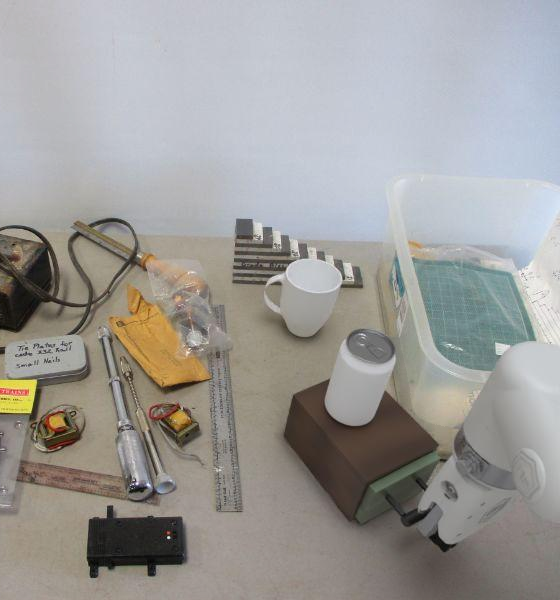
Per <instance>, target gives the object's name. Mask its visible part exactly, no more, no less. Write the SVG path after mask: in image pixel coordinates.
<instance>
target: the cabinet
mask: <svg viewBox="0 0 560 600" xmlns="http://www.w3.org/2000/svg"><path fill="white" fill-rule="evenodd" d="M330 379H331V377H330V378H328V379H325V380H323V381H321V382H318V383H316V384H314V385H311V386H309V387H307V388H305V389H303V390H300V391H298V392H295V393H293V394H292V396H291V401H290V404H289V408H288V409H289V410H288V412H287V413H288V414H287V418H286V422H285V425H284V426H285V427H284V429H283V435H282V436H283V438H284V439H285V441H286V442H287V443H288V445H290V447H291V449H292V450H293V451H294V452H295V454H296V455H297V456H298V457H299V458H300V460H301V462H303V464H304V465H305V467H306V468H307V469H308V470H309V472H310V473H311V474H312V475H313V477H314V478H315V479H316V480H317V482H318V483H319V484H320V485H321V487H322V488H323V489H324V492H326V493H327V495H328V496H329V497H330V499H331V500H332V501H333V502H334V504H335V505H336V507H337V508H338V509H339V510H340V511H341V513H342V514H343V515H344V517H345V518H346V519H347V520H348V522H352V521H354V520H355V519H356V517H355V515H356V513H357V511H358V508H359V506H360V504H361V502H362V499H363V497H364V495H365V493H366V491H367V488H368V486H369V484H370V483H371V482H373V481H375V480H377V479H379V478H381V477H383V476H385V475H387V474H389V473H390V472H392V471H394V470H396V469H398V468H400V467H402V466H404V465H406V464H408V463H410V462H412V461H415V460H417V459H419V458H421V457H423V456H425V455H427V454H428V453H430V452H432V451H435V452H436V451H437V450H438V448H439V446H440V444H439V442H438V441H437V440H436V439H435V438H434V437H433V436H432V435H430V433H429V432H428V431H427V430H426V429H425V428H424V427H423V426H422V425H421V424H420V423H418V421H417V420H416V419H415V418H414V417H413V416H412V415H411V414H410V413H409V412H408V411H407V410H406V409H405V408H404V407H403V406H401V404H400V403H399V402H398V401H397V400H396V399H395V398H394V397H393V396H392V395H391V393H389V392H388V391H387V390H386V389H385V391H384V393H383V396H382V398H381V401H380V403H379V406H378V408H377V410H376V413H375V415H374V417H373V419H372V420H371V421H370V422H368V423H367V424H364V425H361V426H349V425H345V424H342V423H340V422H338V421H337V420H335V419H334V418H333V417H332V416H331V415H330V414H329V413H328V411H327V409H326V407H325V396H326V393H327V389H328V386H329V382H330Z"/></svg>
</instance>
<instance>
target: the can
mask: <svg viewBox="0 0 560 600" xmlns="http://www.w3.org/2000/svg"><path fill="white" fill-rule="evenodd" d="M396 351H397V349H396V345H395V343H394V341H393V340H392V338H391V337H389V336H388V335H387V334H385V333H384V332H382V331H380V330H378V329H374V328H370V327H361V328H356V329H354V330H352V331H350V333H348V335H347V336H346V338H345V339H344V340H343V341H342V342H341V344H340V347H339V350H338V353H337V356H336V359H335V362H334V365H333V369H332V373H331V376H330V378H331V379H330V378H329V379H330V382H329V386H328V389H327V393H326V396H325V407H326V409H327V411H328V413H329V414H330V415H331V416H332V417H333V418H334V419H335V420H337V421H338V422H340V423H342V424H345V425H349V426H361V425H364V424H367V423H368V422H370V421H371V420H372V419H373V417H374V415H375V413H376V410H377V408H378V406H379V403H380V401H381V398H382V396H383V393H384V391H385V390H386V389H387V386H388V383H389V381H390V378H391V375H392V373H393V370H394V368H395V365H396Z"/></svg>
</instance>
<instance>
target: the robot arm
mask: <svg viewBox="0 0 560 600" xmlns="http://www.w3.org/2000/svg"><path fill="white" fill-rule="evenodd" d="M482 386H483V387H482V388H481V389H480V392H479V393H478V395H477V397H476V398H475V400H474V403H473V404H472V406H471V407H470V409H469V412H468V413H467V415H466V417H465V418H464V420H463V421H462V424H460V427H459V428H458V429H457V432H456V435H455V436H454V438H453V439H452V444H451V451H452V454H451V455H450V457H448V459H447V460H446V461H445V462H444V464H443V465H442V467H440V469H439V470H438V472H437V473H436V474H435V476H434V477H433V479H432V480H431V481H430V483H429V485H428V488H427V489H426V491H424V492H423V494H422V496H421V497H420V500H419V502H418V505H417V507H418V513H422V514H423V513H425V512H426V511H428V510H430V509H432V510H431V511H430V512H429V513H428V515H427V516H426V517H425V518H424V519H423V520H421V521H420V523H419V524H418V526H417V527H416V529H417V530H418V531H419V533H420V534H421V535H422V536H423V537H424V538H425V539H426V538H428V539H429V540H430V542H432V544H434V545H435V546H437V547H438V548H439V549H440V551H441V552H442V553H447V552H448V551H450V549H454V548H455V547H456V546H457V545H458V543H460V542H461V541H463V540H464V539H466V538H468V537H470V536H471V535H473V534H475V533H476V532H478V531H479V530H481V529H483V528H484V527H486V526H488V525H489V524H491V523H493V522H494V521H496V520H497V519H499V518H500V517H502V516H503V515H505V514H506V513H507V512H508V511H510V510H511V509H512V507H513V506H514V505H515V503H516V502H517V500H518V499H519V497H521V498H522V500H523V502H524V503H525V505H526V506H527V508H528V509H529V510H530V511H531V512H532V513H533V514H534V515H535V516H536V517H538V518H539V519H541V520H543V521H545V522H548V523H551V524H554V525H560V346H559V345H557V344H554V343H550V342H545V341H541V340H540V341H538V340H537V341H536V340H530V341H528V340H527V341H523V342H519V343H516V344H514V345H511V346H509V347H508V348H507V349H506V350H505V351H504V352H503V353H502V354H501V355H500V357H499V359H498V360H497V361H496V363H495V365H494V367H493V369H492V370H491V372H490V374H489V376H488V377H487V379H486V381H485V383H484V385H482Z"/></svg>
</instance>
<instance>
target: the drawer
mask: <svg viewBox="0 0 560 600" xmlns="http://www.w3.org/2000/svg"><path fill="white" fill-rule="evenodd" d="M440 460H441V456H440V455H438V453H437V452H436V451H432V452H430V453H428V454H427V455H425V456H423V457H421V458H419V459H417V460H415V461H412V462H410V463H408V464H406V465H404V466H402V467H400V468H398V469H396V470H394V471H392V472H390V473H389V474H387V475H385V476H383V477H381V478H379V479H377V480H375V481H373V482H371V483H370V484H369V486H368V488H367V491H366V493H365V495H364V497H363V499H362V502H361V504H360V506H359V508H358V511H357V513H356V515H355V517H356V518H355V519H356V520H357V521H358V522H359V524H360V525H362V524H365V523H366V522H368V521H370V520H372V519H373V518H375V517H377V516H378V515H381V514H383V513H384V512H386V511H388V510H390V509H391V508H392V509H393V510H394V511H395V513H397V514H398V516H399V517H400V522H401V524H402V525H403V526H404V527H405V528H407V529H408V528H410V527H412V526H414V525H416V524H417V523H419V522H422V521H423V520H424V518H425V517H426V516H427V515H428V513H429V512H430V511H431V510H432V509H430V510H428V511H426V512H425V513H423V514H422V513H418V506H417V507H415V508H413V509H412V510H410V511H408V512H406V511H405V509H403V508H402V506H401V505H400V504H401V503H402V502H404V501H406V500H407V499H410V498H412V497H414V496H415V495H418V494H420V492H423V491H424V492H425V491H426V489H427V488H428V486H429V485H428V484H427V483H428V481H429V480H430V478H431V477H432V474H433V473H434V471H435V470H436V468H437V466H438V464H439V462H440Z"/></svg>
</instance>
